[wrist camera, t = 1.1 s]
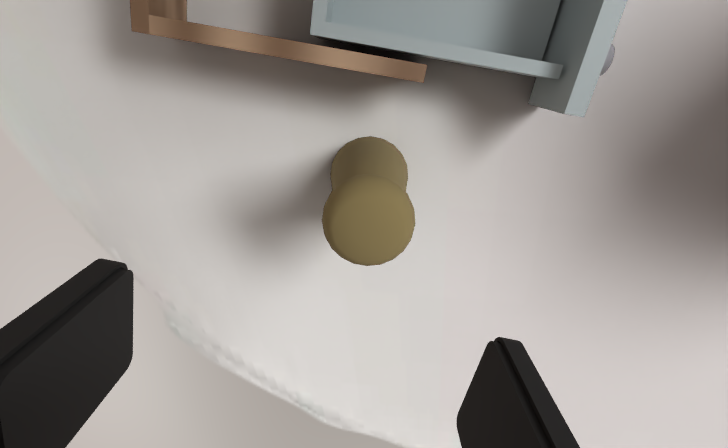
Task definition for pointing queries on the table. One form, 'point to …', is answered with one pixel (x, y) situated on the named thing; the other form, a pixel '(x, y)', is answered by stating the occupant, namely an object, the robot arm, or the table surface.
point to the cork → (368, 203)
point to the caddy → (260, 41)
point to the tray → (490, 38)
